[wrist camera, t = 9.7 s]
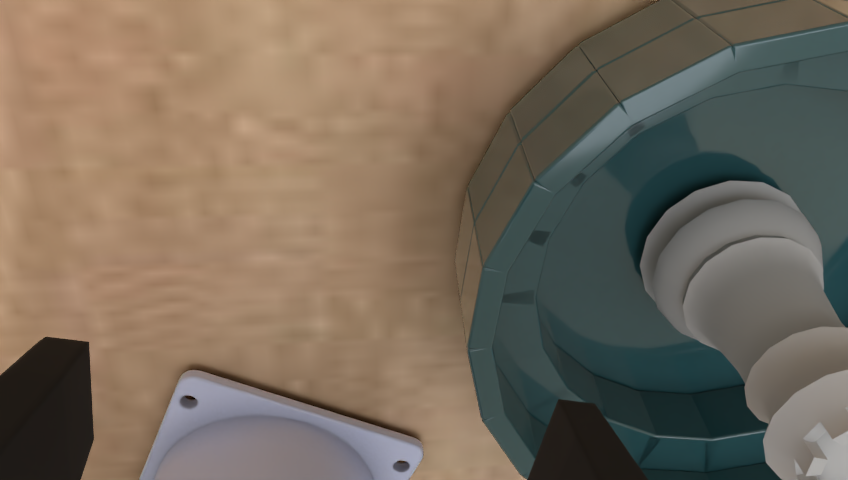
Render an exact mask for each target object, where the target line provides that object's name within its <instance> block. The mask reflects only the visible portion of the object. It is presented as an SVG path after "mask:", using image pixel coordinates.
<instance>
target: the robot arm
mask: <svg viewBox="0 0 848 480" xmlns="http://www.w3.org/2000/svg"><path fill="white" fill-rule="evenodd" d="M186 395H187V396H192V397H194V398H196V399H195V400H191V399H187V398H186V397H185V396H186ZM93 440H94V434H93V414H92V394H91V374H90V354H89V342H85V341H77V340H68V339H60V338H52V337H45V338H43V339H42V340H40V341H39V342H38V343H37V344H35V345H34V346H33V347H32V348H31V349H30V350H29V351H27V352H26V353H25V354H24V355H23V356H22V357H21V358H19V359H18V360H17V361H16V362H15V363H14V364H13V365H12V366H10V367H9V368H8V369H7V370H6V371H5V372H4V373H2V374H1V375H0V480H80V479H81V477H82V474H83V471H84V468H85V464H86V461H87V458H88V455H89V452H90V449H91V446H92V443H93ZM422 458H423V445H422V443H421V442H420V441H419V440H418V439H416V438H414V437H411V436H408V435H404V434H401V433H398V432H395V431H392V430H388V429H385V428H382V427H379V426H376V425H372V424H369V423H366V422H363V421H360V420H356V419H353V418H350V417H347V416H344V415H341V414H337V413H334V412H331V411H328V410H325V409H321V408H318V407H315V406H312V405H309V404H305V403H302V402H299V401H296V400H293V399H289V398H286V397H283V396H280V395H277V394H273V393H270V392H267V391H264V390H261V389H257V388H254V387H251V386H248V385H245V384H241V383H238V382H235V381H232V380H229V379H226V378H222V377H219V376H216V375H213V374H210V373H206V372H203V371H199V370H189V371H186V372H185V373H183V374H182V375H181V377H180V378H179V381H178V383H177V386H176V388H175V391H174V393H173V396H172V398H171V401H170V403H169V406H168V408H167V411H166V413H165V416H164V418H163V421H162V423H161V426H160V428H159V431H158V433H157V436H156V438H155V441H154V443H153V446H152V448H151V451H150V453H149V456H148V458H147V461H146V463H145V466H144V468H143V471H142V473H141V476H140V478H139V480H409V479H410V477H411V476H412V474H413V473H414V471H415V469H416V468H417V466H418V465H419V463H420V462H421V460H422ZM400 460H402V461H406V462H404V463H398V462H397V461H400ZM527 480H648V479H647V477H646V476H645V474H644V473H643V472H642V470H641V469H640V467H639V466H638V464H637V463H636V462H635V460H634V459H633V457H632V456H631V455H630V453H629V452H628V450H627V449H626V447H625V446H624V444H623V443H622V442H621V440H620V439H619V437H618V436H617V434H616V433H615V432H614V430H613V429H612V427H611V426H610V424H609V423H608V421H607V420H606V419H605V417H604V416H603V414H602V413H601V411H600V410H599V409H598V407H597V406H596V404H594V403H586V402H577V401H569V400H561V399H558V401H557V404H556V406H555V409H554V411H553V414H552V417H551V419H550V422H549V424H548V427H547V430H546V432H545V435H544V437H543V440H542V443H541V445H540V448H539V450H538V453H537V456H536V458H535V461H534V464H533V466H532V469H531V471H530V474H529V477H528V479H527Z"/></svg>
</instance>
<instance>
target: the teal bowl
mask: <svg viewBox="0 0 848 480" xmlns="http://www.w3.org/2000/svg"><path fill="white" fill-rule="evenodd" d="M727 181H748V182H764V183H766V184H768V185H770V186H772V187H774V188H776V189H778V190H780V191H782V192H784V193H786V194H788V195H790V197H791V198H792V200H793V201H794V203H795V204H796V205H797V207H798V208H799V210H800V211H801V213H802V214H804V216H805V217H806V219H807V220H808V222H809V223H810V225H811V226H812V227H813V229H814V230H815V232H816V233H817V235H818V237H819V240H820V243H821V246H822V260H823V281H824V290H823V291H824V293H825V295H826V296H827V298H828V300H829V302H830V304H831V305H832V307H833V309H834V311H835V312H836V314H837V316H838V318H839V320H840V321H841V323H842V324H843V325H844V326H845V327H846V328H848V0H660V1H658V2H656V3H654V4H652V5H650V6H648V7H647V8H645V9H643V10H641V11H639V12H637V13H635V14H633V15H632V16H630V17H628V18H626V19H624V20H622V21H620V22H618V23H617V24H615V25H613V26H611V27H609V28H607V29H605V30H603V31H602V32H600V33H598V34H596V35H594V36H592V37H590V38H588V39H587V40H585V41H583V42H581V43H580V44H579V46H577V47H575V48H574V49H573V50H572V51H571V52H570V53H569V54H568V55H566V56H565V57H564V58H563V59H562V60H561V61H560V62H559V63H558V64H557V65H556V66H555V67H554V68H553V69H552V70H551V71H550V72H549V73H548V74H547V75H546V76H545V77H544V78H543V79H542V80H541V81H540V82H539V83H538V84H537V85H536V86H535V87H534V88H533V89H532V90H530V91H529V92H528V93H527V94H526V95H525V96H524V97H523V98H522V99H521V100H520V101H519V102H518V103H517V104H516V105H515V106H514V107H513V108H512V109H511V111H510V113H508V114H507V115H506V117H505V119H504V121H503V123H502V124H501V126H500V128H499V130H498V132H497V133H496V135H495V137H494V139H493V141H492V143H491V144H490V146H489V148H488V150H487V152H486V154H485V155H484V157H483V159H482V161H481V163H480V165H479V166H478V168H477V170H476V172H475V174H474V176H473V177H472V179H471V181H470V183H469V185H468V187H467V189H466V195H465V201H464V207H463V213H462V219H461V225H460V231H459V237H458V242H457V248H456V254H455V268H456V275H457V282H458V289H459V297H460V303H461V311H462V318H463V326H464V333H465V340H466V347H467V353H468V358H469V363H470V367H471V372H472V377H473V382H474V387H475V391H476V396H477V401H478V406H479V410H480V415H481V418H482V421H483V423H484V424H485V425H486V427H487V428H488V430H489V431H490V433H491V434H492V435H493V437H494V438H495V440H496V441H497V442H498V444H499V445H500V447H501V448H502V450H503V451H504V452H505V454H506V455H507V457H508V458H509V459H510V461H511V462H512V464H513V465H514V467H515V468H516V469H517V471H518V472H519V474H520V475H522V476H523V477H524V478H525V479H528V477H529V474H530V471H531V469H532V466H533V464H534V461H535V458H536V456H537V453H538V450H539V448H540V445H541V443H542V440H543V437H544V435H545V432H546V430H547V427H548V424H549V422H550V419H551V417H552V414H553V411H554V409H555V406H556V404H557V401H558V399H561V400H569V401H577V402H586V403H594V404H596V406H597V407H598V409H599V410H600V411H601V413H602V414H603V416H604V417H605V419H606V420H607V421H608V423H609V424H610V426H611V427H612V429H613V430H614V432H615V433H616V434H617V436H618V437H619V439H620V440H621V442H622V443H623V444H624V446H625V447H626V449H627V450H628V452H629V453H630V455H631V456H632V457H633V459H634V460H635V462H636V463H637V464H638V466H639V467H640V469H641V470H642V472H643V473H644V474H645V476H646V477H647V479H648V480H782V479H780V478H779V476H778V475H777V474H776V473H775V472H774V471H773V470H772V469H771V468H770V466H769V465H768V464H767V463H766V459H765V452H764V445H763V439H764V436H765V433H766V430H767V427H768V423H765V422H763V421H760V420H759V419H758V418H757V417H756V416H755V415H754V413H753V412H752V411H751V410H750V409H749V408H748V407H747V402H746V396H745V389H744V387H745V382H744V381H743V379H742V377H741V376H740V374H739V372H738V371H737V370H736V369H735V367H734V366H733V365H732V364H731V363H730V362H729V360H728V359H727V358H726V357H725V356H724V355H723V354H722V352H720V351H719V350H717V349H715V348H712V347H710V346H707V345H705V344H703V343H700V342H699V341H698V340H696V339H694V338H691V337H689V336H686V335H684V334H682V333H680V332H679V331H678V330H677V329H676V328H674V327H673V326H672V324H671V323H670V322H669V321H668V320H667V319H666V318H665V316H664V315H663V314H662V313H661V312H660V311H659V310H658V308H657V305H656V302H655V301H654V300H653V299H652V298H651V297H650V295H649V294H648V293H647V292H646V291H645V287H644V282H643V278H642V273H641V269H640V262H641V258H642V254H643V251H644V247H645V243H646V239H647V236H648V235H649V234H650V232H651V231H652V230H653V228H654V227H655V226H656V224H657V223H658V222H659V220H660V219H661V217H662V216H663V215H664V213H665V212H666V211H667V210H668V209H670V208H671V207H672V206H674V205H675V204H677V203H678V202H680V201H681V200H683V199H684V198H686V197H687V196H688V195H690V194H691V193H693V192H694V191H696V190H700V189H703V188H707V187H710V186H713V185H717V184H720V183H723V182H727Z"/></svg>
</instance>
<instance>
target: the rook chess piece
mask: <svg viewBox="0 0 848 480" xmlns="http://www.w3.org/2000/svg"><path fill="white" fill-rule="evenodd" d="M640 269H641V273H642V278H643V282H644V287H645V291H646V292H647V293H648V294H649V295H650V297H651V298H652V299H653V300H654V301H655V302H656V305H657V308H658V310H659V311H660V312H661V313H662V314H663V315H664V316H665V318H666V319H667V320H668V321H669V322H670V323H671V324H672V326H673V327H674V328H676V329H677V330H678V331H679V332H680V333H682V334H684V335H686V336H689V337H691V338H694V339H696V340H698V341H699V342H700V343H703V344H705V345H707V346H710V347H712V348H715V349H717V350H719V351H720V352H722V354H723V355H724V356H725V357H726V358H727V359H728V360H729V362H730V363H731V364H732V365H733V366H734V367H735V369H736V370H737V371H738V372H739V374H740V376H741V377H742V379H743V381H744V382H745V387H744V389H745V396H746V402H747V407H748V408H749V409H750V410H751V411H752V412H753V413H754V415H755V416H756V417H757V418H758V419H759V420H760V421H763V422H765V423H768V427H767V430H766V433H765V436H764V439H763V445H764V452H765V459H766V463H767V464H768V465H769V466H770V468H771V469H772V470H773V471H774V472H775V473H776V474H777V475H778V476H779V478H780V479H782V480H848V328H846V327H845V326H844V325H843V324H842V323H841V321H840V320H839V318H838V316H837V314H836V312H835V311H834V309H833V307H832V305H831V304H830V302H829V300H828V298H827V296H826V295H825V293H824V291H823V290H824V281H823V260H822V246H821V243H820V240H819V237H818V235H817V233H816V232H815V230H814V229H813V227H812V226H811V225H810V223H809V222H808V220H807V219H806V217H805V216H804V214H802V213H801V211H800V210H799V208H798V207H797V205H796V204H795V203H794V201H793V200H792V198H791V197H790V195H788V194H786V193H784V192H782V191H780V190H778V189H776V188H774V187H772V186H770V185H768V184H766V183H764V182H748V181H727V182H723V183H720V184H717V185H713V186H710V187H707V188H703V189H700V190H696V191H694V192H693V193H691V194H690V195H688V196H687V197H686V198H684V199H683V200H681V201H680V202H678V203H677V204H675V205H674V206H672V207H671V208H670V209H668V210H667V211H666V212H665V213H664V215H663V216H662V217H661V219H660V220H659V222H658V223H657V224H656V226H655V227H654V228H653V230H652V231H651V232H650V234H649V235H648V236H647V239H646V243H645V247H644V251H643V254H642V258H641V262H640Z"/></svg>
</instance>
